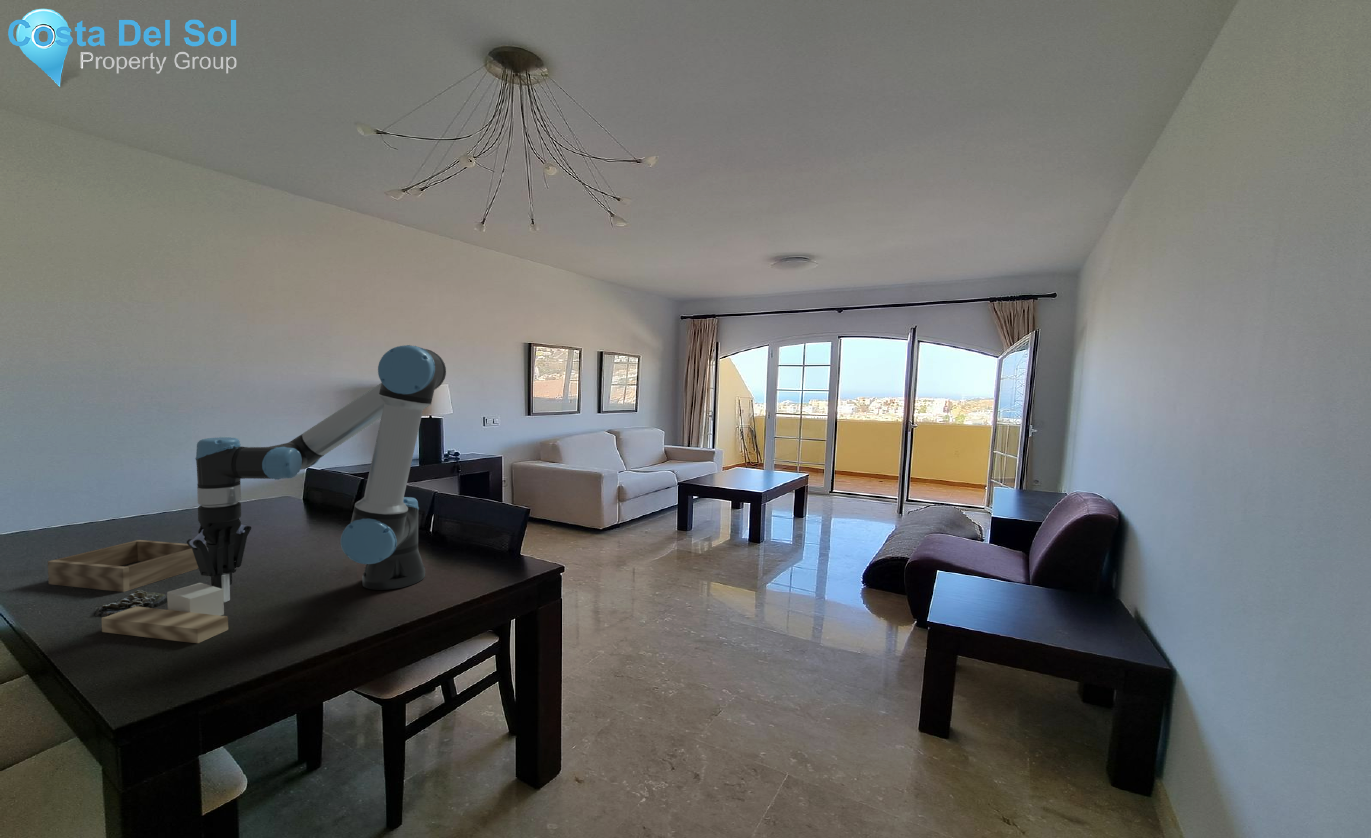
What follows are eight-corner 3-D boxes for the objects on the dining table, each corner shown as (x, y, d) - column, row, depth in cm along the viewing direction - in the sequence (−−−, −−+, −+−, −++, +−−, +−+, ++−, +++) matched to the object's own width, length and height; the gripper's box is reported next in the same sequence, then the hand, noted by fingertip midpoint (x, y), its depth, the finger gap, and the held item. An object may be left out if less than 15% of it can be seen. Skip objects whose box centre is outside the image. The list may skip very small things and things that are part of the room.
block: (223, 614, 117) (223, 589, 117) (190, 625, 112) (189, 599, 111) (201, 607, 120) (200, 582, 120) (168, 617, 115) (167, 591, 115)
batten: (228, 629, 110) (227, 616, 110) (197, 643, 104) (197, 629, 104) (136, 619, 114) (135, 606, 113) (101, 631, 108) (101, 618, 108)
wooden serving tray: (206, 565, 147) (206, 545, 147) (123, 591, 128) (122, 568, 127) (139, 559, 150) (138, 539, 150) (48, 584, 131) (47, 561, 131)
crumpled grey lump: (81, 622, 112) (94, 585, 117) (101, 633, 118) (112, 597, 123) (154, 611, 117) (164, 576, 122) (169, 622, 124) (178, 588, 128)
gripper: (234, 496, 126) (236, 588, 128) (175, 508, 113) (178, 610, 115) (260, 498, 125) (262, 591, 127) (203, 511, 112) (206, 614, 114)
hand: (222, 600), depth 121 cm, fingers closed
